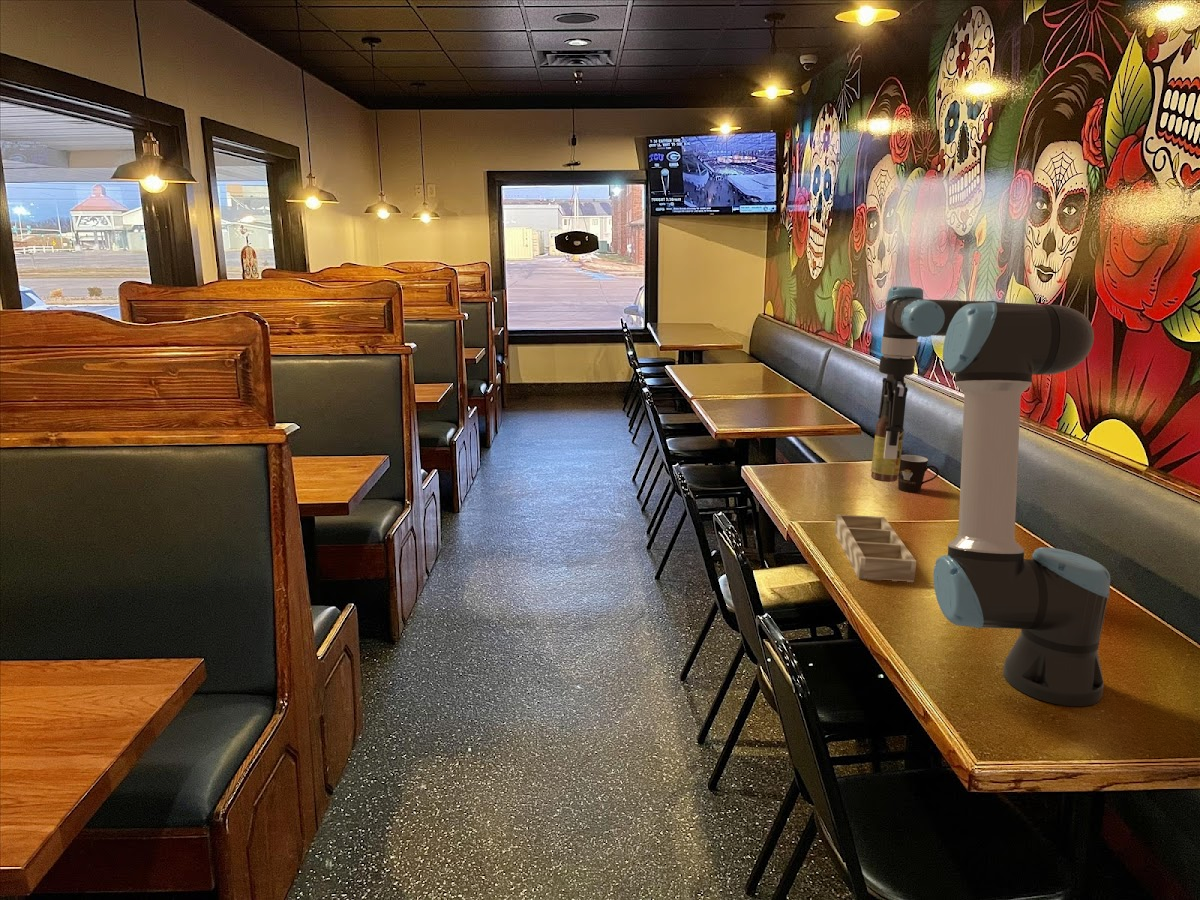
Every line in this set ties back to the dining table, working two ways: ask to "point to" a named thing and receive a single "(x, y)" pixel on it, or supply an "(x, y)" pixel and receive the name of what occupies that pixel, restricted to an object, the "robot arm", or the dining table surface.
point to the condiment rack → (874, 548)
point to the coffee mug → (913, 473)
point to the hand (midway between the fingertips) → (886, 454)
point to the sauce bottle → (880, 466)
